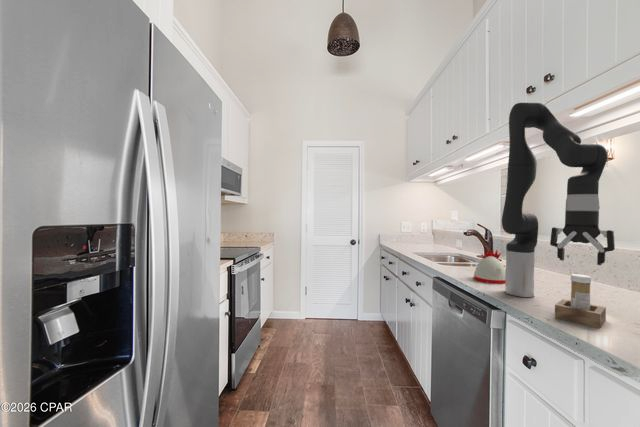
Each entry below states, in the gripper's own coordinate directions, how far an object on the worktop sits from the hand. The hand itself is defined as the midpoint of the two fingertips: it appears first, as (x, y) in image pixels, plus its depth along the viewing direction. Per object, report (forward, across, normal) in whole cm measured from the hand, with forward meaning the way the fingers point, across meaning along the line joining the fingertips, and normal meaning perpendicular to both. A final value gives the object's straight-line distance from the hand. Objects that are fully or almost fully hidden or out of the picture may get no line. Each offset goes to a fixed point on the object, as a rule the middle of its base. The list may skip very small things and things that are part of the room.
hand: (580, 262), depth 86 cm
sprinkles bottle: (+18, 0, 0) cm, 18 cm away
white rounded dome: (+18, -37, +33) cm, 53 cm away
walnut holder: (+17, 0, 0) cm, 17 cm away
